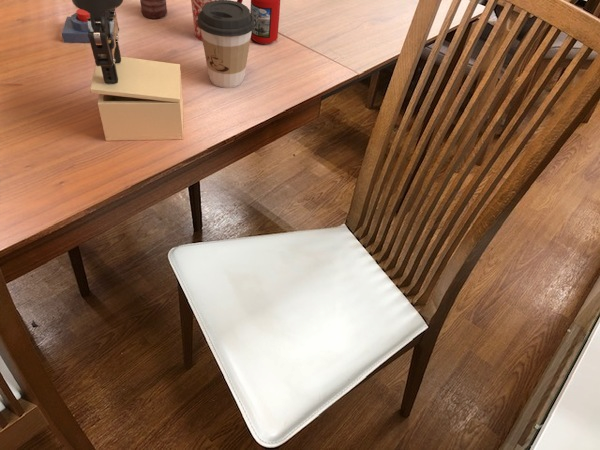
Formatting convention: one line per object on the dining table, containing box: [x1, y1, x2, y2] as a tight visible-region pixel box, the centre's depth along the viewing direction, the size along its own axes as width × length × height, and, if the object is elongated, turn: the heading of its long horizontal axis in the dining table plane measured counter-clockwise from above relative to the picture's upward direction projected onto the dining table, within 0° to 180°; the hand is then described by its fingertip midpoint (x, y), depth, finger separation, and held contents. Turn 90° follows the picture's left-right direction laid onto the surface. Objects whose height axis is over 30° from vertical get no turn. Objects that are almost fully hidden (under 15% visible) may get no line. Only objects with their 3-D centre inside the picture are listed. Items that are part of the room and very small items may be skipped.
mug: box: [190, 0, 244, 42], centre depth 117 cm, size 13×9×14 cm
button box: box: [61, 12, 90, 44], centre depth 115 cm, size 10×8×4 cm
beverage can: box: [250, 0, 281, 45], centre depth 118 cm, size 7×7×12 cm
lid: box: [90, 40, 181, 103], centre depth 87 cm, size 14×12×6 cm
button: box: [75, 8, 90, 22], centre depth 113 cm, size 4×4×2 cm
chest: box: [97, 72, 184, 142], centre depth 93 cm, size 14×12×8 cm
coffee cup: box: [197, 0, 255, 89], centre depth 103 cm, size 11×11×15 cm
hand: (113, 71), depth 88 cm, fingers closed on lid, 6 cm apart
